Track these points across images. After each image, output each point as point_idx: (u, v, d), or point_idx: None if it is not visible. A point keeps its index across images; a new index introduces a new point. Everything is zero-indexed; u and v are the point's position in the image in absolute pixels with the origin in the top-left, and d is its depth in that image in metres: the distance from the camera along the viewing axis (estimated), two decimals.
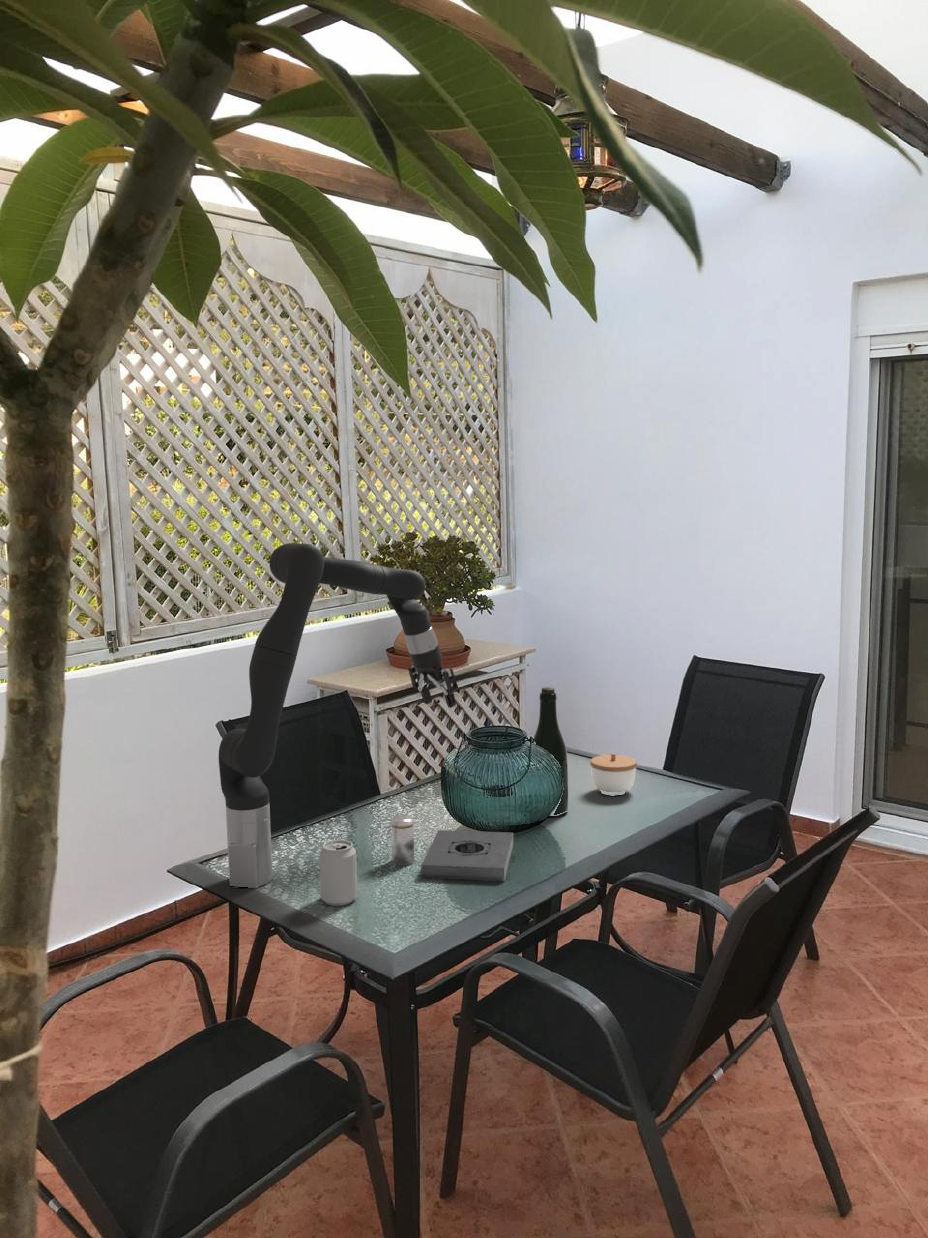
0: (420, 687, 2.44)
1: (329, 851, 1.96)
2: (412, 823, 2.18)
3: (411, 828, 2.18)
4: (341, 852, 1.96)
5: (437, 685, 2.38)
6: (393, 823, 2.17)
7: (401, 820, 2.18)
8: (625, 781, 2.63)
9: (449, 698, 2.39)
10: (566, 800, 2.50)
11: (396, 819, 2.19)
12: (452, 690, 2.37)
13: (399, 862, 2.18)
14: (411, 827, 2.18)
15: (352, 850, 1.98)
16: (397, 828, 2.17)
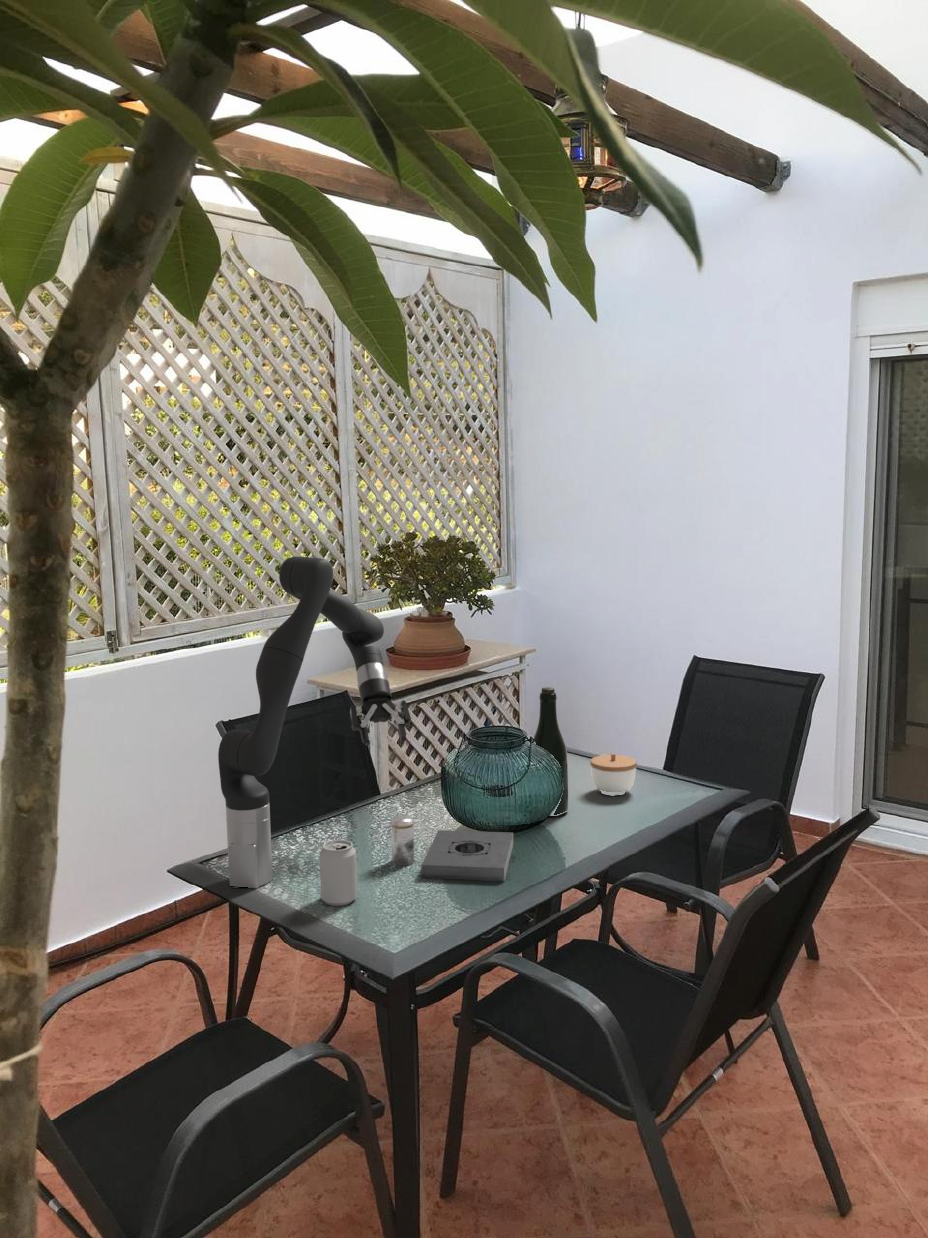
0: (364, 723, 2.30)
1: (329, 851, 1.96)
2: (412, 823, 2.18)
3: (411, 828, 2.18)
4: (341, 852, 1.96)
5: (394, 713, 2.33)
6: (393, 823, 2.17)
7: (401, 820, 2.18)
8: (625, 781, 2.63)
9: (403, 729, 2.32)
10: (566, 800, 2.50)
11: (396, 819, 2.19)
12: None
13: (399, 862, 2.18)
14: (411, 827, 2.18)
15: (352, 850, 1.98)
16: (397, 828, 2.17)
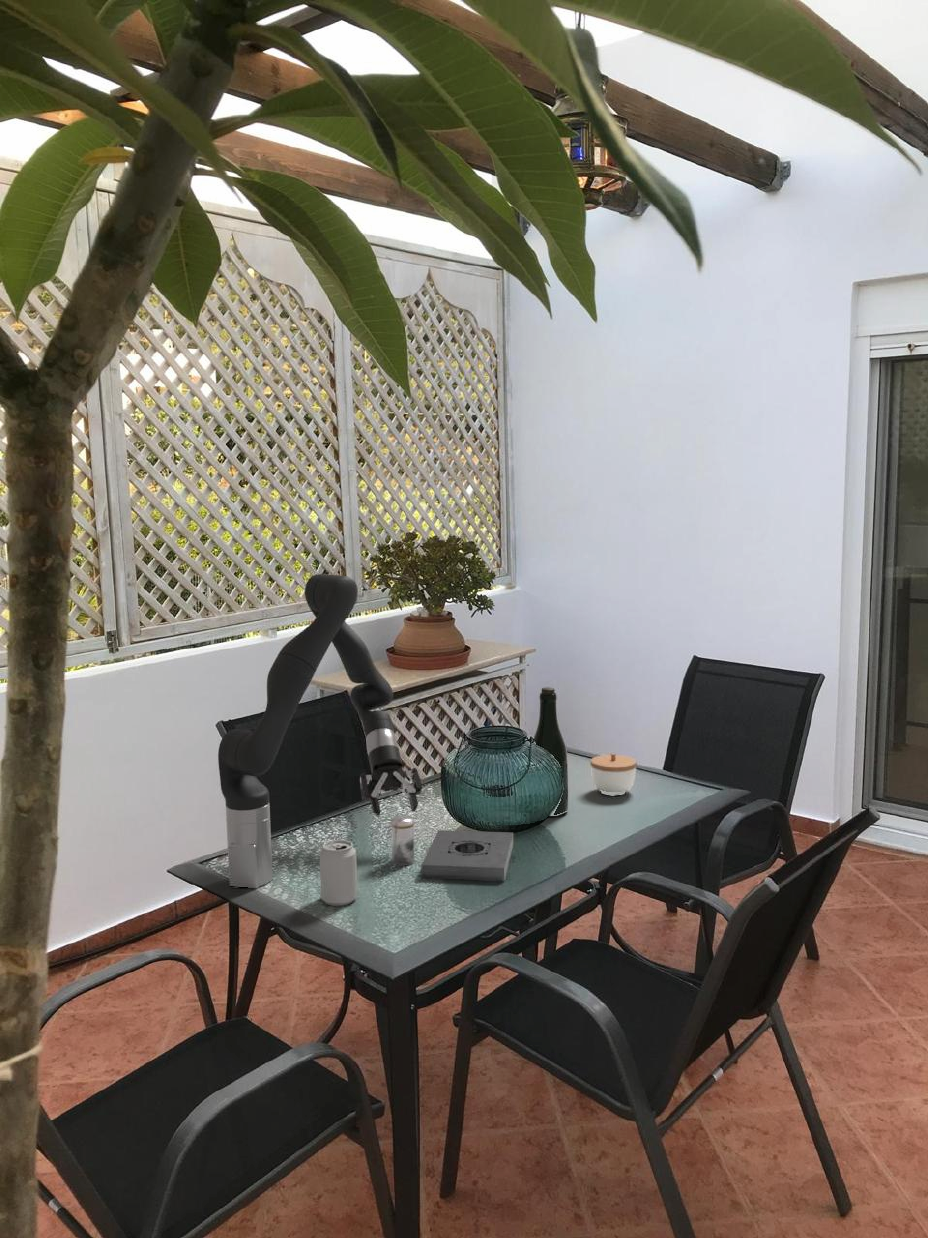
0: (375, 792, 2.25)
1: (329, 851, 1.96)
2: (412, 823, 2.18)
3: (411, 828, 2.18)
4: (341, 852, 1.96)
5: (405, 782, 2.28)
6: (393, 823, 2.17)
7: (401, 820, 2.18)
8: (625, 781, 2.63)
9: (415, 798, 2.27)
10: (566, 800, 2.50)
11: (396, 819, 2.19)
12: None
13: (399, 862, 2.18)
14: (411, 827, 2.18)
15: (352, 850, 1.98)
16: (397, 828, 2.17)
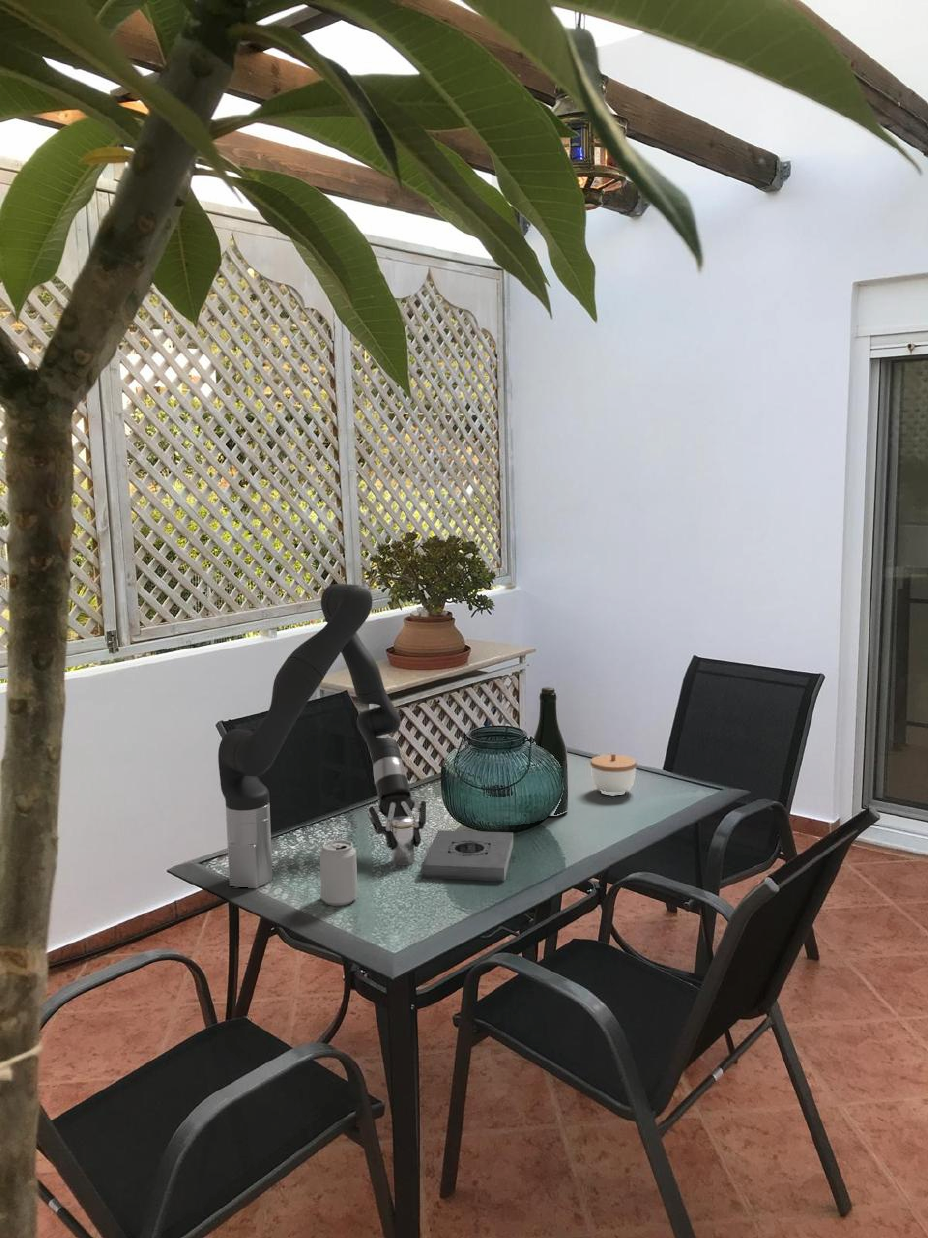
0: (389, 825, 2.19)
1: (329, 851, 1.96)
2: (412, 823, 2.18)
3: (411, 828, 2.18)
4: (341, 852, 1.96)
5: (410, 814, 2.21)
6: (393, 823, 2.17)
7: (401, 820, 2.18)
8: (625, 781, 2.63)
9: (418, 833, 2.20)
10: (566, 800, 2.50)
11: (396, 819, 2.19)
12: None
13: (399, 862, 2.18)
14: (411, 827, 2.18)
15: (352, 850, 1.98)
16: (397, 828, 2.17)
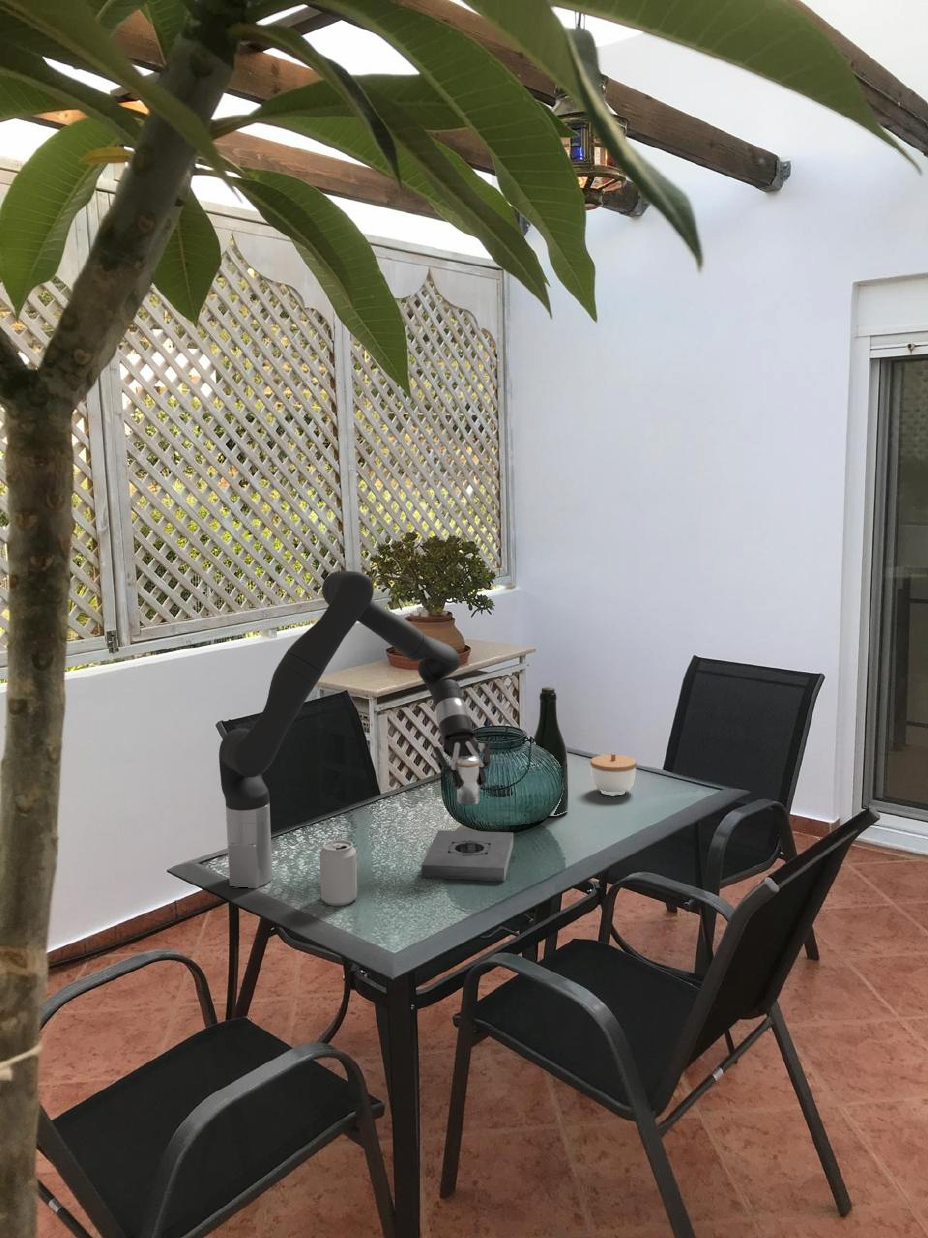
0: (454, 764, 2.17)
1: (329, 851, 1.96)
2: (478, 762, 2.17)
3: (477, 767, 2.16)
4: (341, 852, 1.96)
5: (475, 754, 2.20)
6: (459, 762, 2.16)
7: (467, 759, 2.16)
8: (625, 781, 2.63)
9: (483, 772, 2.18)
10: (566, 800, 2.50)
11: (461, 758, 2.17)
12: None
13: (465, 801, 2.16)
14: (477, 766, 2.16)
15: (352, 850, 1.98)
16: (463, 767, 2.15)
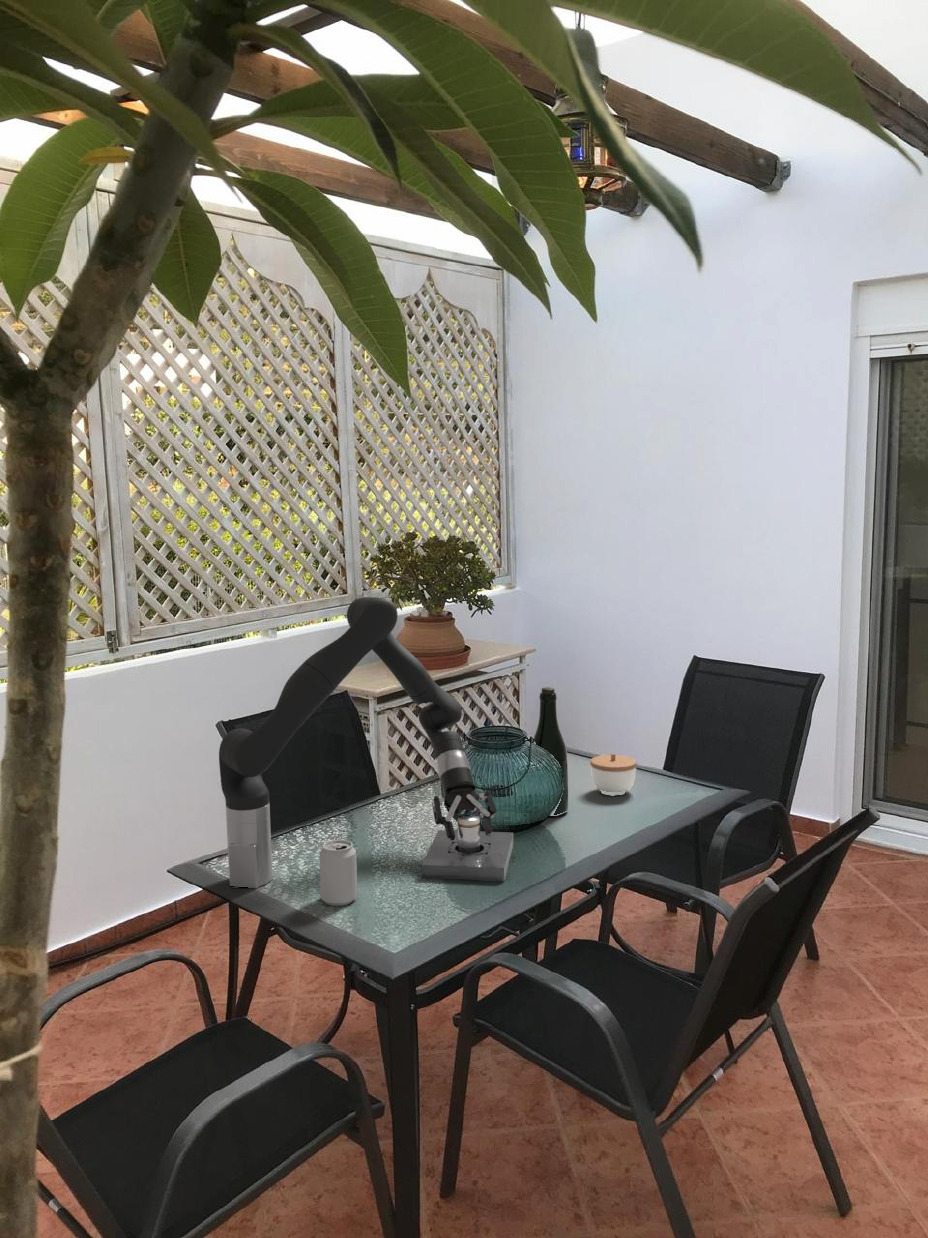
0: (449, 816, 2.19)
1: (329, 851, 1.96)
2: (479, 822, 2.18)
3: (478, 827, 2.18)
4: (341, 852, 1.96)
5: (478, 805, 2.22)
6: (460, 822, 2.17)
7: (468, 819, 2.18)
8: (625, 781, 2.63)
9: (489, 822, 2.21)
10: (566, 800, 2.50)
11: (462, 818, 2.19)
12: None
13: None
14: (478, 826, 2.18)
15: (352, 850, 1.98)
16: (464, 827, 2.17)
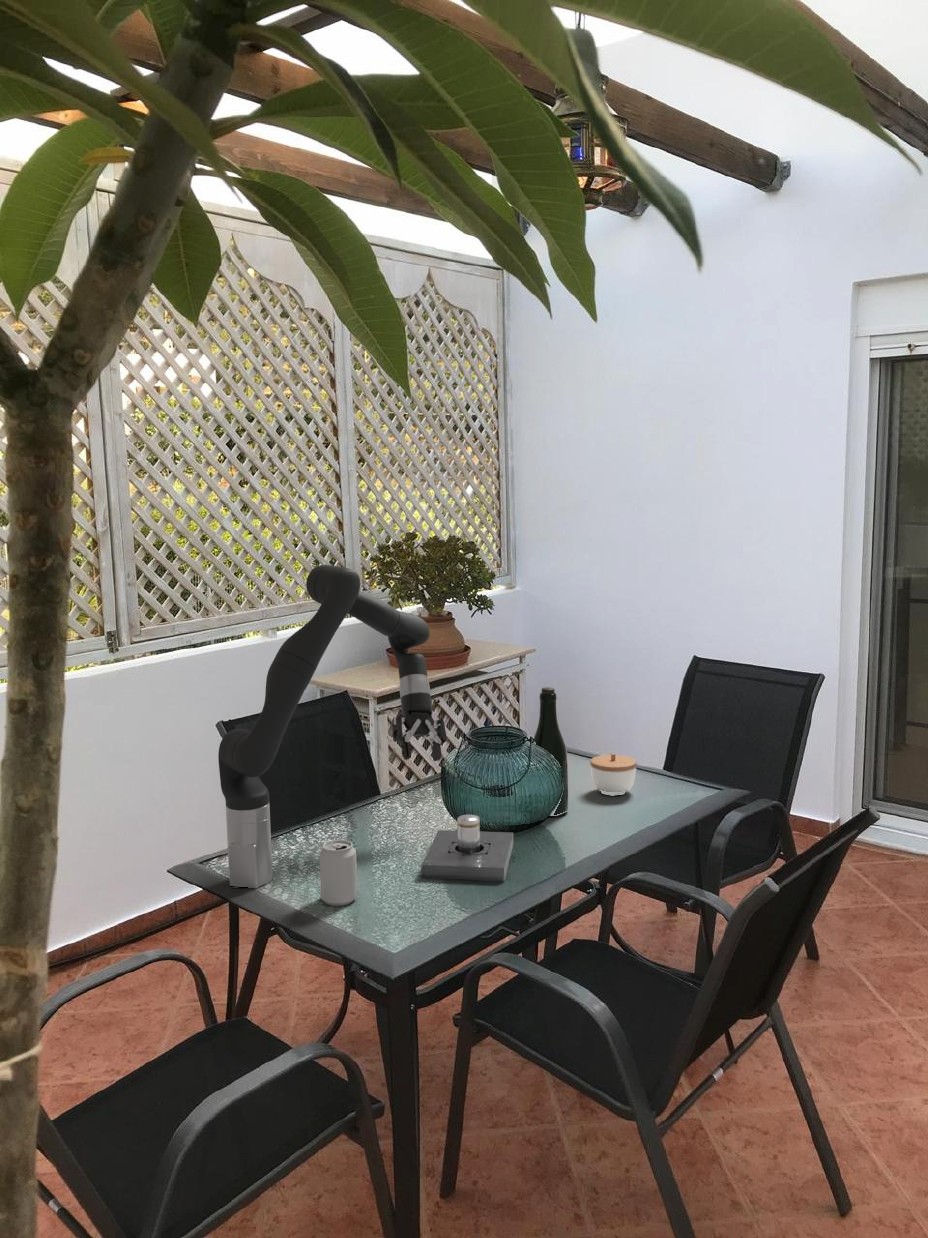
0: (408, 737, 2.32)
1: (329, 851, 1.96)
2: (478, 822, 2.18)
3: (478, 827, 2.18)
4: (341, 852, 1.96)
5: (434, 732, 2.36)
6: (460, 822, 2.17)
7: (467, 819, 2.18)
8: (625, 781, 2.63)
9: (439, 749, 2.37)
10: (566, 800, 2.50)
11: (462, 818, 2.19)
12: None
13: None
14: (478, 826, 2.18)
15: (352, 850, 1.98)
16: (464, 827, 2.17)
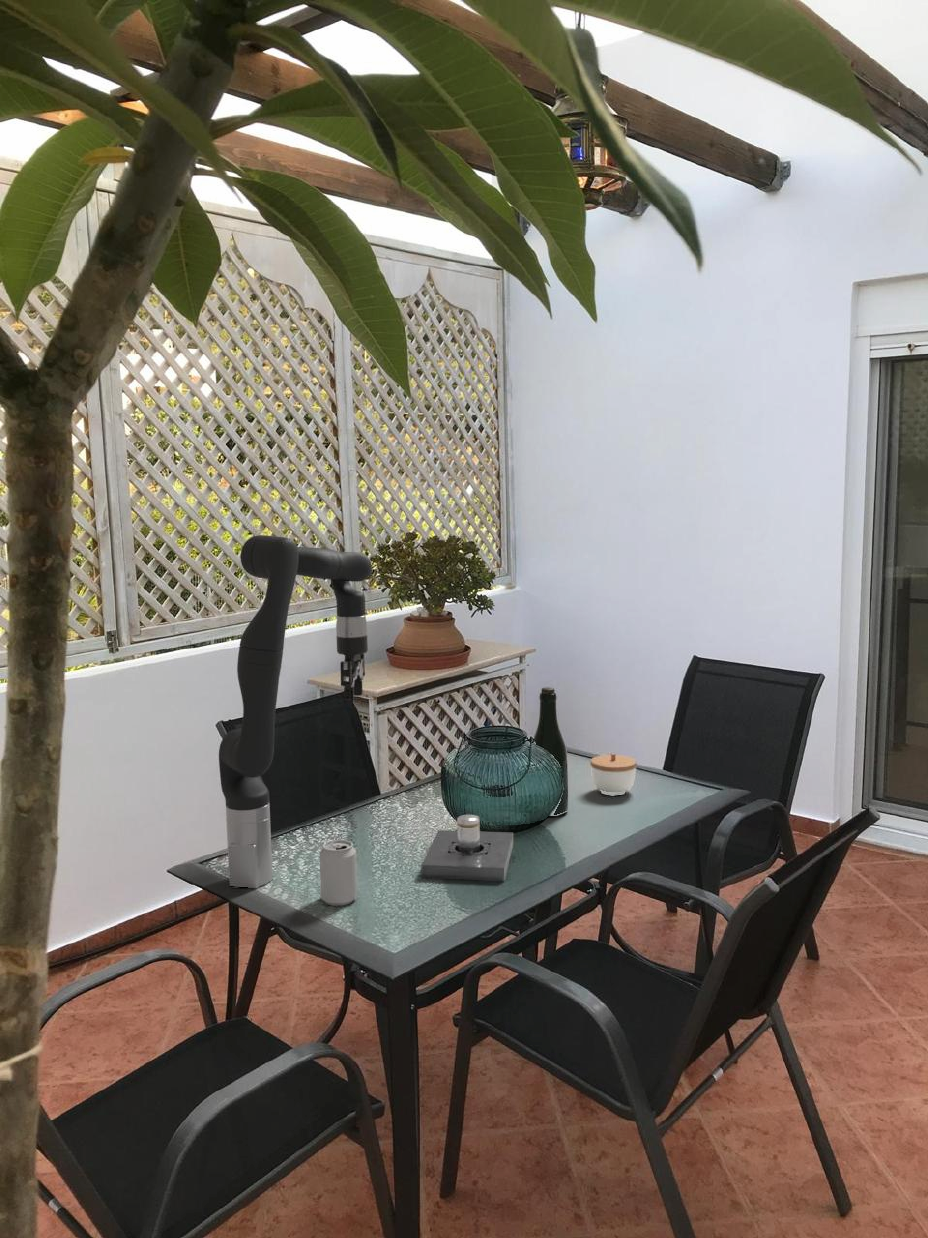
0: (353, 682, 2.34)
1: (329, 851, 1.96)
2: (478, 822, 2.18)
3: (478, 827, 2.18)
4: (341, 852, 1.96)
5: (362, 670, 2.41)
6: (460, 822, 2.17)
7: (467, 819, 2.18)
8: (625, 781, 2.63)
9: None
10: (566, 800, 2.50)
11: (462, 818, 2.19)
12: None
13: None
14: (478, 826, 2.18)
15: (352, 850, 1.98)
16: (464, 827, 2.17)
